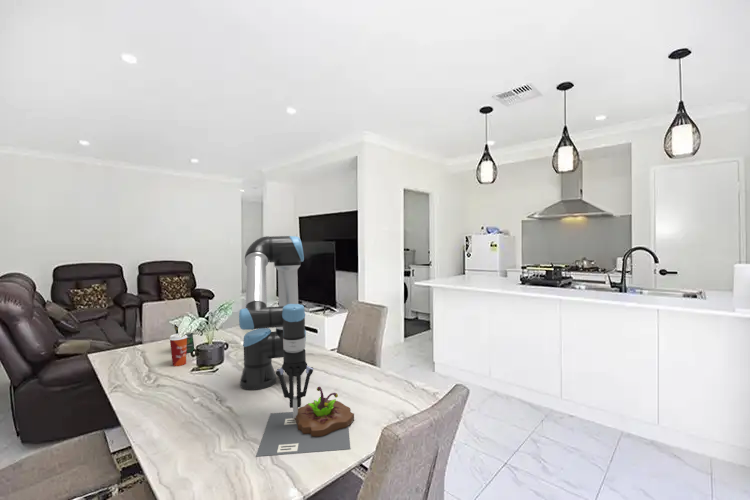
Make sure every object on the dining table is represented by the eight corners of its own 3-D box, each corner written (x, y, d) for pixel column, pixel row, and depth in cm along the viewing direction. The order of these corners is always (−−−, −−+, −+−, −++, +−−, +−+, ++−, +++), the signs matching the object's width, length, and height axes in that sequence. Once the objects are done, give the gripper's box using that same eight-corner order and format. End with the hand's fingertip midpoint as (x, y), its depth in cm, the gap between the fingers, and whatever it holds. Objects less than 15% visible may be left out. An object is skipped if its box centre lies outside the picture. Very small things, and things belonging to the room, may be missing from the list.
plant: (334, 401, 142) (334, 373, 142) (361, 422, 126) (361, 390, 126) (285, 416, 131) (284, 385, 131) (308, 441, 115) (307, 406, 114)
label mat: (255, 456, 108) (255, 456, 108) (270, 413, 134) (270, 413, 134) (350, 449, 111) (350, 448, 111) (347, 408, 137) (347, 407, 137)
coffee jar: (177, 355, 199) (176, 322, 198) (173, 352, 205) (172, 319, 204) (196, 351, 205) (195, 319, 205) (192, 348, 211) (191, 316, 210)
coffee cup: (180, 367, 181) (179, 337, 180) (166, 366, 183) (165, 337, 182) (192, 361, 189) (191, 333, 188) (178, 360, 191) (177, 332, 190)
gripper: (273, 353, 122) (274, 422, 123) (312, 352, 123) (313, 420, 124) (277, 347, 130) (278, 412, 131) (314, 345, 131) (315, 409, 132)
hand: (295, 416), depth 128 cm, fingers closed
